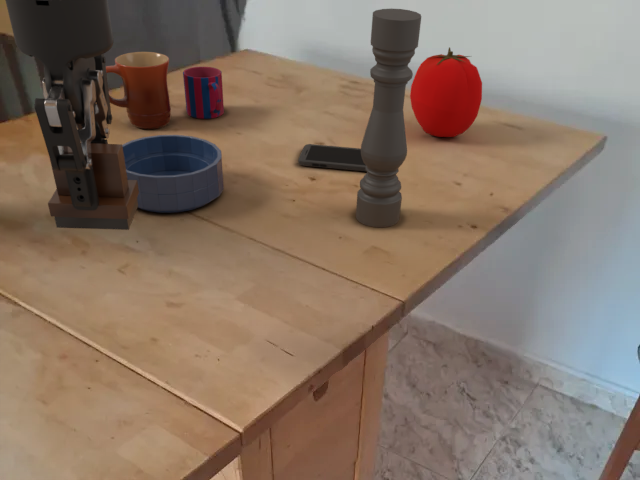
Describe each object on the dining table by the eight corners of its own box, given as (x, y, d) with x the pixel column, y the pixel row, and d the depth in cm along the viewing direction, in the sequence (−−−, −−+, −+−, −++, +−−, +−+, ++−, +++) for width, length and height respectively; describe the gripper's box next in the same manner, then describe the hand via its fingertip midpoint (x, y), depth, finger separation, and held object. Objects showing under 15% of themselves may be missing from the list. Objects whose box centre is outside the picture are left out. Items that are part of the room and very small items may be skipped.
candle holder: (372, 231, 93) (391, 23, 76) (346, 213, 97) (359, 11, 80) (408, 221, 96) (434, 17, 79) (382, 203, 100) (402, 6, 82)
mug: (168, 112, 124) (161, 49, 117) (182, 129, 118) (175, 64, 111) (101, 120, 120) (90, 55, 113) (112, 137, 115) (100, 71, 108)
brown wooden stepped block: (53, 229, 63) (36, 158, 59) (68, 202, 67) (53, 134, 63) (130, 231, 63) (119, 161, 59) (140, 204, 67) (131, 137, 63)
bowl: (95, 199, 98) (87, 161, 94) (162, 163, 107) (157, 127, 104) (182, 226, 93) (177, 186, 89) (243, 185, 102) (242, 148, 99)
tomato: (461, 152, 115) (476, 66, 106) (394, 137, 119) (403, 53, 110) (485, 131, 122) (500, 49, 113) (421, 117, 126) (432, 37, 117)
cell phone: (384, 173, 107) (385, 168, 107) (297, 165, 108) (297, 160, 108) (388, 155, 112) (388, 150, 112) (304, 147, 114) (304, 143, 113)
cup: (217, 104, 128) (215, 65, 123) (234, 123, 121) (232, 81, 117) (182, 108, 126) (178, 68, 121) (197, 127, 119) (194, 85, 115)
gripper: (30, -41, 57) (72, 161, 69) (-31, -1, 47) (31, 229, 58) (121, -36, 57) (147, 163, 69) (81, 4, 47) (120, 232, 59)
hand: (94, 192), depth 64 cm, fingers closed on brown wooden stepped block, 5 cm apart
